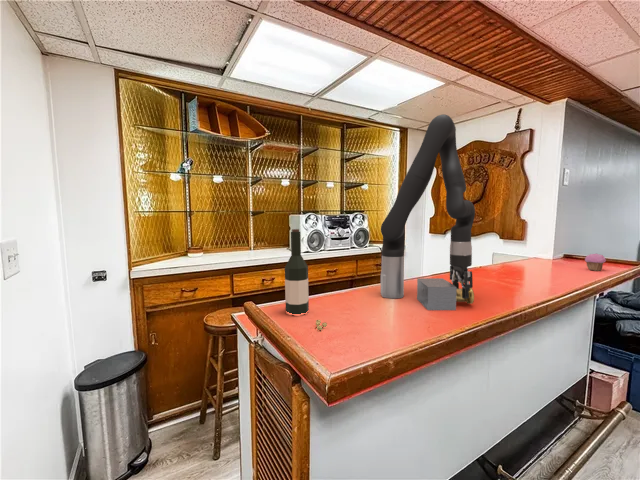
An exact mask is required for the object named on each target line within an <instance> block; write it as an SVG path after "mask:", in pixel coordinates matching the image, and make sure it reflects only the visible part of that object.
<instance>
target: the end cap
mask: <svg viewBox="0 0 640 480" xmlns="http://www.w3.org/2000/svg"><path fill="white" fill-rule="evenodd" d="M474 300H475V293H474V289H473V287H472V288H469V298H468V299H464V298H462V288H459V289H457V290H456V303H465V304H467V305H470V304H474Z"/></svg>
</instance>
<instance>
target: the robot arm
mask: <svg viewBox="0 0 640 480" xmlns="http://www.w3.org/2000/svg"><path fill="white" fill-rule="evenodd" d="M456 132H457V128H456V124H455V121H454V120H453V119H452V118H451V117H450V116H449V115H448V114H439V115H437V116H435V117H434V118H433V119H432V120H431V121H430V123H429V124H428V127H427V129H426V132H425V133H424V134H425V135H424V137H423V139H422V143H421V144H420V148H419V150H418V151H417V154H416V156H415V157H414V158H413V161H412V163H411V165H410V166H409V169H408V170H407V172H406V175H405V177H404V179H403V180H402V183H401V185H400V188H399V190H398V192H397V196H396V198H395V201H394V203H393V205H392V206H391V209H390V211H389V212H388V214H387V215H386V217H385V219H384V220H383V222H382V223H381V226H380V233H381V235H382V247H381V271H380V296H382V298H387V299H401V298H403V297H404V295H405V290H404V289H405V280H404V279H405V248H406V244H405V243H406V223H407V222H408V219H409V217H410V214H411V213H412V211H413V209H414V207H416V205H417V203H418V202H419V201H420V199H421V197H422V195H423V194H424V193H425V191H426V189H427V187H428V185H429V183H430V181H431V179H432V176H433V174H434V170H435V166H436V165H435V164H436V162H437V159H438V155H439V157H440V161H441V173H442V179H443V183H444V187H445V191H446V192H445V193H446V194H445V195H446V196H445V198H446V199H445V206H446V207H445V208H446V211H447V212H446V213H447V214H448V216H449V217H450V218H451V219H454V220H455V224H454V225H453V226H451V228H450V243H449V265H450V266H449V280H450V281H451V284H453V285H454V286H456V287H457V289H460V285H461V289H462V298H464V299H468V298H469V288H472V289H473V285H474V284H473V281H474V279H473V271H472V270H471V271H469V270H468V268H469V267H471V266H472V264H473V261H472V260H473V259H472V258H473V257H472V256H473V252H472V251H473V246H472V228H473V224H474V221H475V217H476V216H475V215H476V208H475V206H474V204H473V202H472V201H470V200H467V199H464V193H465V192H466V191H467V184H466V180H465V176H464V173H463V169H462V166H461V161H460V158H459V155H458V150H457V149H458V148H457V135H456Z"/></svg>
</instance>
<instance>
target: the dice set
mask: <svg viewBox="0 0 640 480" xmlns="http://www.w3.org/2000/svg"><path fill="white" fill-rule="evenodd" d="M321 322H322V321H321V319H316V320H315V326H316V325H317V329H318V330H322V331H323V328H322V326H323V327H326V326H327V327H328V323H327V322H322V323H321ZM320 323H321V325H320ZM319 325H320V326H319ZM318 330H317V331H318Z"/></svg>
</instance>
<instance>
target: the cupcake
mask: <svg viewBox="0 0 640 480" xmlns="http://www.w3.org/2000/svg"><path fill="white" fill-rule="evenodd" d="M584 261H585V262H586V267H587V269H588V270H589V271H594V272H599V271H602V270H603V265H604V263H606V261H607V259H606V257H605V256H604V255H603V254H598V253H590V254H588V255H586V256H585V258H584Z"/></svg>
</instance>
